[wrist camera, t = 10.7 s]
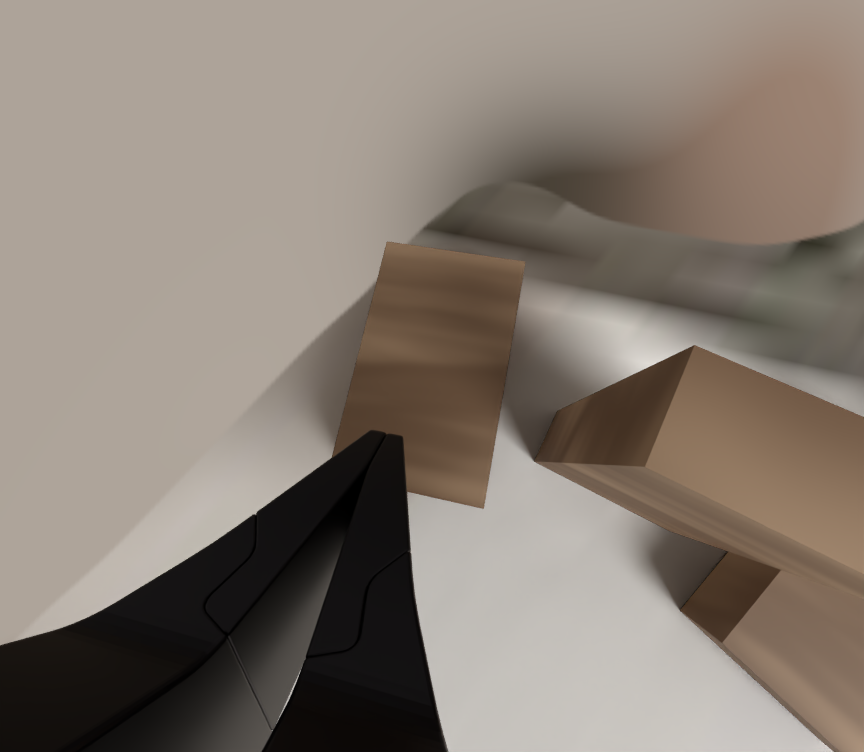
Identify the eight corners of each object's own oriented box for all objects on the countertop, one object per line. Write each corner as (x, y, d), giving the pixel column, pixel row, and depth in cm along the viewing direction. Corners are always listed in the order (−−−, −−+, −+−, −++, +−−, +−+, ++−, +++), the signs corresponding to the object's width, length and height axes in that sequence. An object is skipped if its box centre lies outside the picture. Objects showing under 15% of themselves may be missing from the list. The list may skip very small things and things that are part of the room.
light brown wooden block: (668, 530, 15) (1035, 658, 6) (534, 461, 16) (644, 467, 7) (691, 471, 16) (1069, 493, 6) (559, 407, 17) (698, 336, 7)
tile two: (483, 508, 13) (525, 261, 15) (327, 473, 14) (386, 241, 16) (479, 500, 16) (515, 290, 18) (348, 471, 17) (397, 271, 19)
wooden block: (900, 806, 11) (1088, 551, 12) (722, 643, 12) (902, 420, 13) (816, 737, 14) (974, 531, 14) (677, 608, 15) (829, 425, 16)
